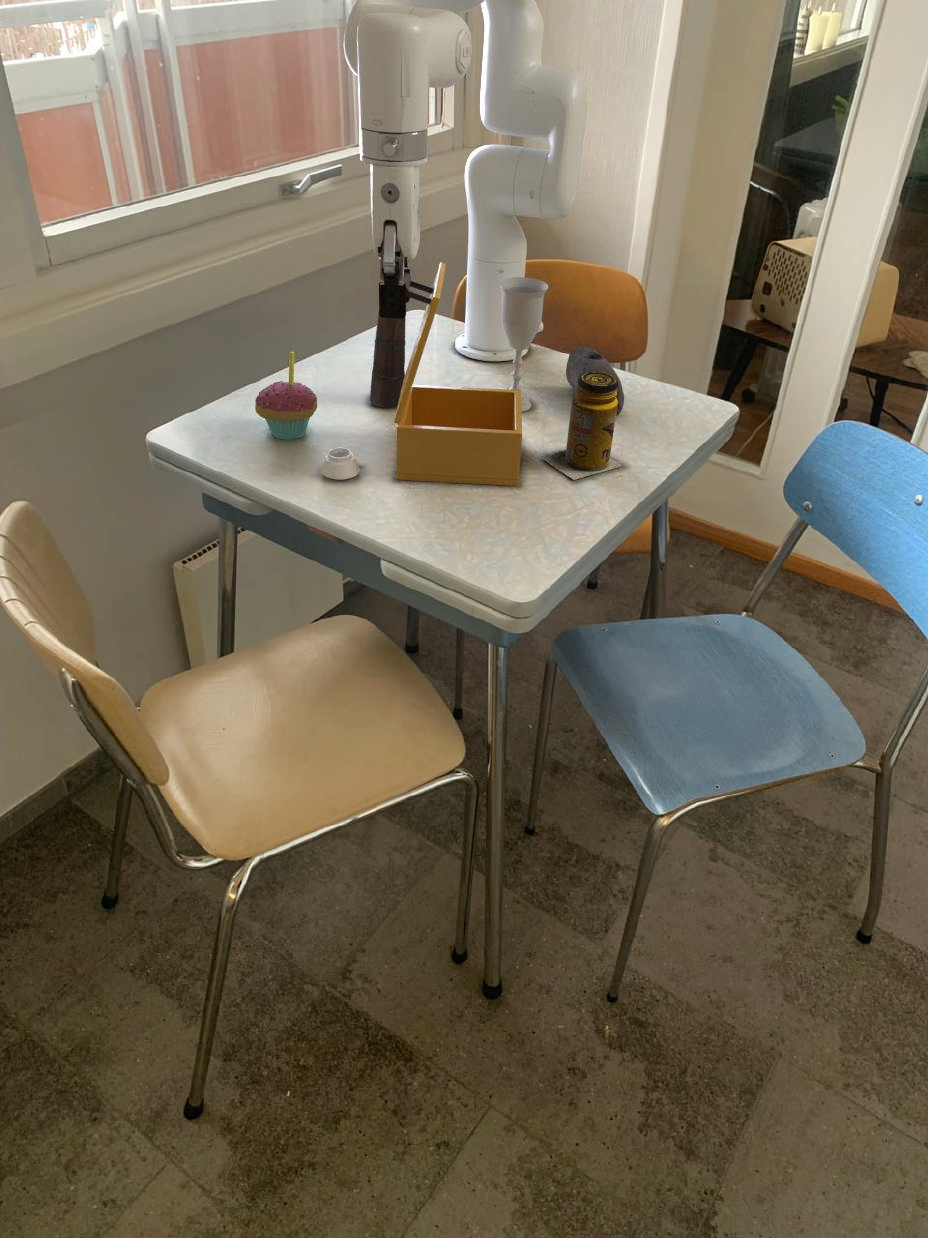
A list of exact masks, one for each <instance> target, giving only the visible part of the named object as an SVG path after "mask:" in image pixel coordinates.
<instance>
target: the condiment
mask: <svg viewBox="0 0 928 1238" xmlns="http://www.w3.org/2000/svg"><path fill="white" fill-rule="evenodd" d="M577 384H578V385H577V387H576V393H575V392H574V395H572V398H571V405H570V414H569V421H568V422H569V423H568V431H567V439H566V447H565V450H560V451H558V452H554V453H551V454H545V455H542V456H540V457H541V459H543V460H544V461H545V462H547V463H548V464H549V465H551V466H552V467H553V468H555V469H556V470H558V472H560V473H562V474H564V475H565V476H567V477H569V478H570V479H571V480H573V481H576V480H578V479H583V478H585V477H588V476H592V475H596V474H600V473H604V472H606V471H611V470H614V469H617V468H620V467H622V466H623V464H621V463H619V462H618V461H616V460H614V459H612V458H611V453H612V445H613V439H614V438H613V437H614V432H615V426H616V419H617V416H616V413H617V407H618V400H617V398H616V396H617V386H618V381H617V379H616V378H615V377H614V376H612V375H610V374H607V373H604V372H586V373H583V374H581V375H580V376H579V378H578V380H577Z"/></svg>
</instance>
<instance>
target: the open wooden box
mask: <svg viewBox="0 0 928 1238" xmlns="http://www.w3.org/2000/svg"><path fill="white" fill-rule="evenodd" d="M522 412H523V411H522V407H521V390H508V389H507V388H504V389H503V388H487V387H485V388H484V387H470V386H469V387H467V386H450V385H449V386H447V385H431V384H430V385H429V384H413V385H412V388H411V391H410V394H409V397H408V401H407V404H406V407H405V410H404V413H403V416H402V419H401V422H400V425H399V424H396V480H398V481H416V482H435V483H452V484H454V483H455V484H472V485H473V484H475V485H492V486H508V487H509V486H511V487H512V486H513V487H518V486H519V479H520V478H519V477H520V468H521V467H520V466H521V453H522V443H523V442H522V441H523V413H522Z"/></svg>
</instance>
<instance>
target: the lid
mask: <svg viewBox="0 0 928 1238" xmlns="http://www.w3.org/2000/svg"><path fill="white" fill-rule="evenodd" d="M446 269H447V263H444V262H439V265H438V269H437V272H436V275H435V279H434V281H433V285H432V286H431V285H430V284H426V283H423V282H420V281H418V280H414V279H413V278H412V275H411V273H410V274H409V273H407V272H404V284H406V297H410V299H412V300H416V301H418V302H420V303H423V304H426V307H425V309H424V313H423V317H422V320H421V322H420V326H419V329H418V333H417V336H416V339H415V342H414V346H413V349H412V352H411V356H410V357H409V362H408V365H407V368H406V371H405V377H404V381H403V385H402V389H401V393H400V398H399V402H398V406H396V411H395V416H394V420H393V423H394V424H395V425H397V424H399V425H400V422H401V419H402V416H403V413H404V410H405V407H406V404H407V401H408V397H409V394H410V391H411V388H412V385H414V383H415V382H414V381H415V378H416V375H417V372H418V369H419V366H420V362H421V360H422V357H423V353H424V350H425V348H426V344H427V341H428V337H429V334H430V332H431V328H432V325H433V322H434V319H435V316H436V313H437V309H438V307H439V304H440V301H441V296H442V291H443V284H444V279H445V274H446ZM411 288H413V289H417V290H419V291H422V292H424V293H427V294H429V296H428V295H426V294H423V293H420V292H417V291H414V290H411ZM409 289H410V290H409Z"/></svg>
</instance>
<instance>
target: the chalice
mask: <svg viewBox="0 0 928 1238" xmlns="http://www.w3.org/2000/svg"><path fill="white" fill-rule="evenodd" d="M500 286H501V289H502V292H503V295H502V311H501V321H502V325H503V329H504V332H505V335H506V337H507V340H508V343H509V345H510V347H511V348H513V349H515V353H516V355H515V358H514V359H513V360H512V363H513V368H514V369H513V371H512V372H511V373H510V374H511V376H512V379H513V382H512V384H511V386H509V387H507V388H506V389H508V390H521V407H522V412H525V411H528V410H530V409H531V407H532V404H531V402H530V398H529V396H528V392H527V391H526V389H525V388H522V386H521V384H520V381H521V377H522V376H523V375H524V374H523V373H522V370H521V368H522V365H524V361H523V356H521V354H522V351H523V350H525V349H527V348H528V349H529V347H530V346H531V344H532V342H533V340H534V339H535V337H536V336H537V334H538V332H537V331H538V329H539V326H540V324H541V321H542V320H543V307H544V298H545V294H546V293H547V291H548V289H549V285H548V284H547V283H546V282H545V281H543V280H540V279H538V278H533V277H527V276H525V277H510V278H506V279H503V280H501V281H500ZM542 322H543V321H542Z"/></svg>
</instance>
